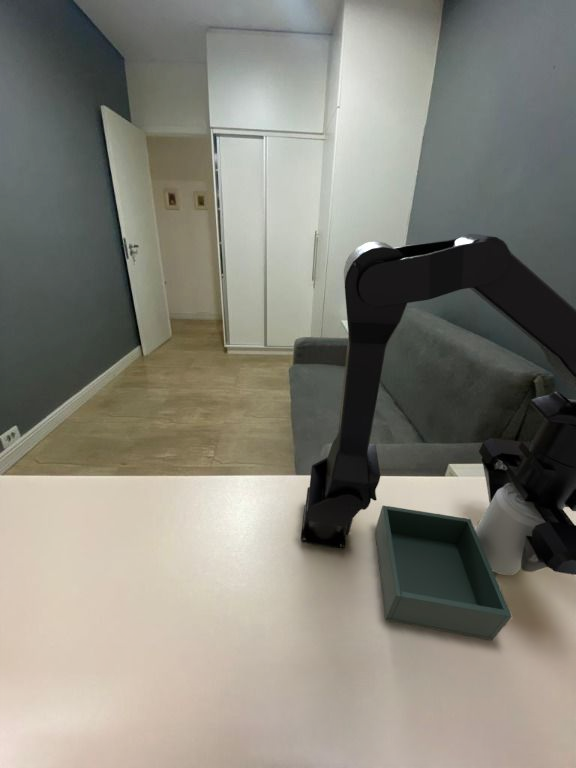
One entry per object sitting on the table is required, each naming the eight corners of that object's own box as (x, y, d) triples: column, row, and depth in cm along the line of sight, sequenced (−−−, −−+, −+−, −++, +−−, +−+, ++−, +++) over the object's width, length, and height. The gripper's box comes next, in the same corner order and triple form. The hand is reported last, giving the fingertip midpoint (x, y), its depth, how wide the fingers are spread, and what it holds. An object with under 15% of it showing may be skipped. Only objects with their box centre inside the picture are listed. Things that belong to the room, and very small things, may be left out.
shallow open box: (385, 619, 37) (395, 595, 34) (375, 529, 47) (382, 505, 45) (492, 640, 36) (512, 616, 33) (457, 542, 46) (470, 518, 43)
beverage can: (526, 583, 41) (572, 526, 36) (475, 571, 42) (512, 514, 37) (507, 540, 47) (544, 485, 41) (462, 531, 48) (492, 475, 42)
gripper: (736, 537, 26) (628, 627, 34) (583, 413, 42) (534, 492, 50) (591, 516, 27) (519, 608, 35) (497, 403, 43) (462, 483, 51)
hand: (508, 537), depth 43 cm, fingers open, 9 cm apart
